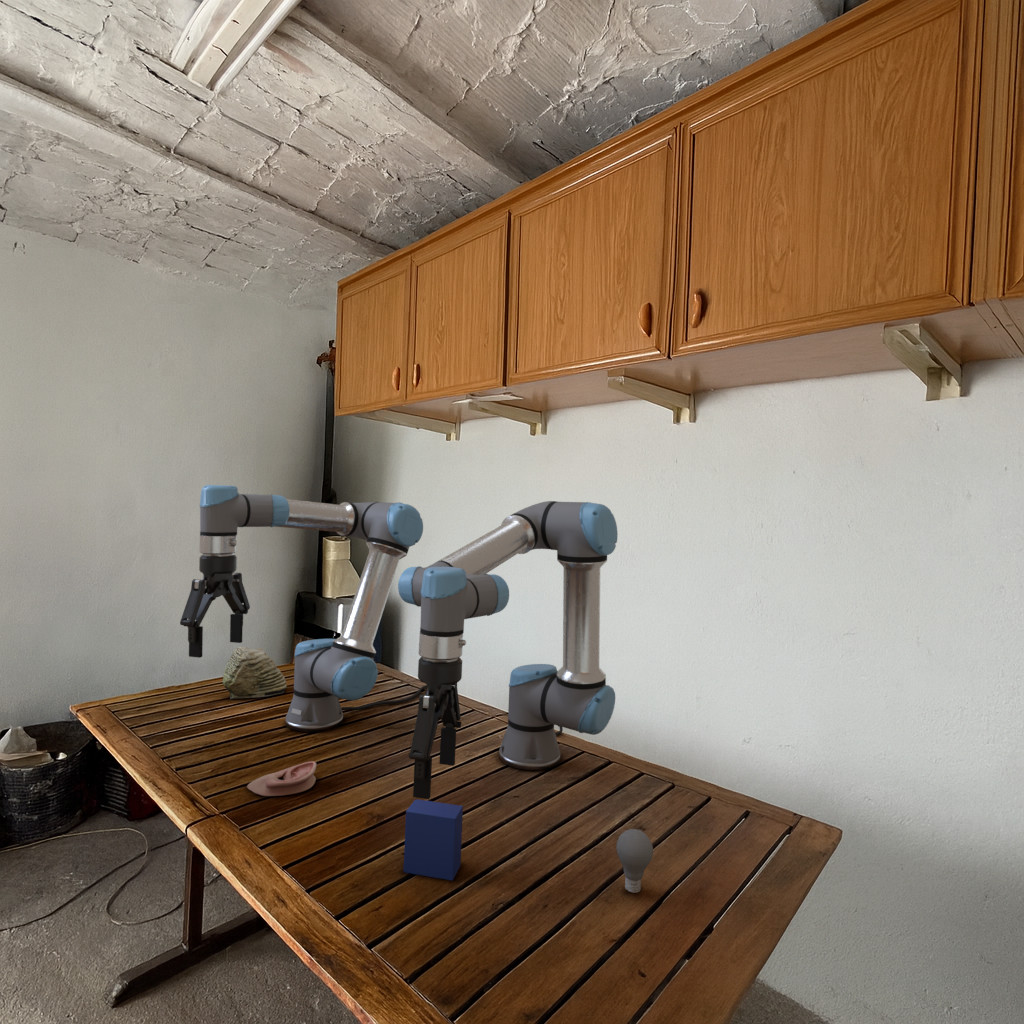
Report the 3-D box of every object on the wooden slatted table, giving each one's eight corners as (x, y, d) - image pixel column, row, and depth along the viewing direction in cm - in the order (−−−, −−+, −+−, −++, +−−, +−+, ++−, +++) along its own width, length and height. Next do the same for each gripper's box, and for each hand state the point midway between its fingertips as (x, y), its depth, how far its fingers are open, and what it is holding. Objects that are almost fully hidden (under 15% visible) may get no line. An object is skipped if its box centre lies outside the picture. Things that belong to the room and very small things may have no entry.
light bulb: (610, 879, 108) (613, 822, 108) (644, 879, 109) (647, 822, 109) (619, 902, 102) (622, 840, 102) (655, 901, 103) (658, 840, 103)
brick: (403, 872, 108) (405, 811, 108) (412, 857, 113) (415, 798, 113) (452, 880, 106) (455, 818, 106) (460, 865, 111) (463, 805, 111)
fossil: (218, 695, 195) (220, 647, 195) (278, 685, 208) (279, 640, 207) (228, 703, 189) (230, 653, 188) (289, 692, 201) (290, 645, 201)
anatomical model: (239, 773, 134) (270, 753, 145) (238, 792, 134) (269, 770, 145) (296, 782, 131) (323, 760, 142) (295, 801, 131) (323, 777, 142)
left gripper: (193, 561, 128) (192, 665, 128) (266, 550, 152) (264, 638, 153) (161, 559, 129) (160, 662, 130) (238, 548, 154) (237, 635, 154)
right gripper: (438, 678, 96) (432, 817, 96) (480, 644, 120) (474, 754, 121) (392, 673, 98) (386, 810, 98) (442, 640, 122) (437, 749, 122)
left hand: (216, 649), depth 141 cm, fingers open, 13 cm apart
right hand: (435, 779), depth 109 cm, fingers open, 13 cm apart
